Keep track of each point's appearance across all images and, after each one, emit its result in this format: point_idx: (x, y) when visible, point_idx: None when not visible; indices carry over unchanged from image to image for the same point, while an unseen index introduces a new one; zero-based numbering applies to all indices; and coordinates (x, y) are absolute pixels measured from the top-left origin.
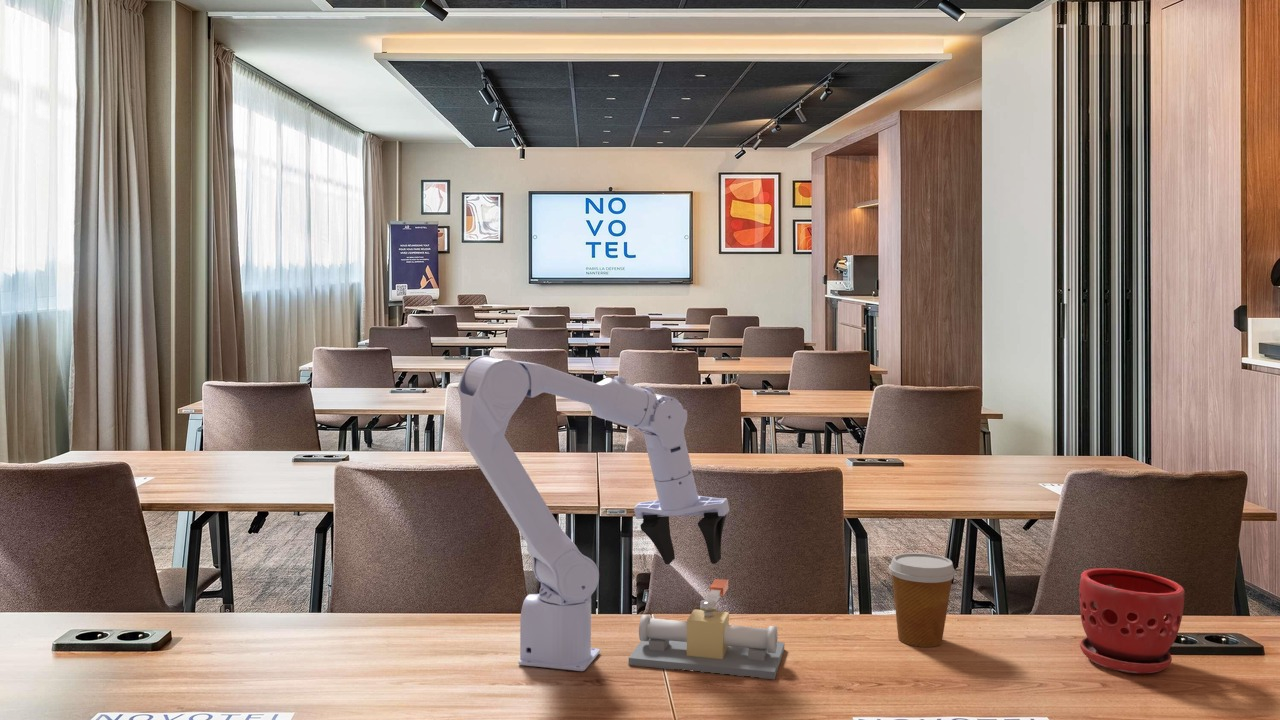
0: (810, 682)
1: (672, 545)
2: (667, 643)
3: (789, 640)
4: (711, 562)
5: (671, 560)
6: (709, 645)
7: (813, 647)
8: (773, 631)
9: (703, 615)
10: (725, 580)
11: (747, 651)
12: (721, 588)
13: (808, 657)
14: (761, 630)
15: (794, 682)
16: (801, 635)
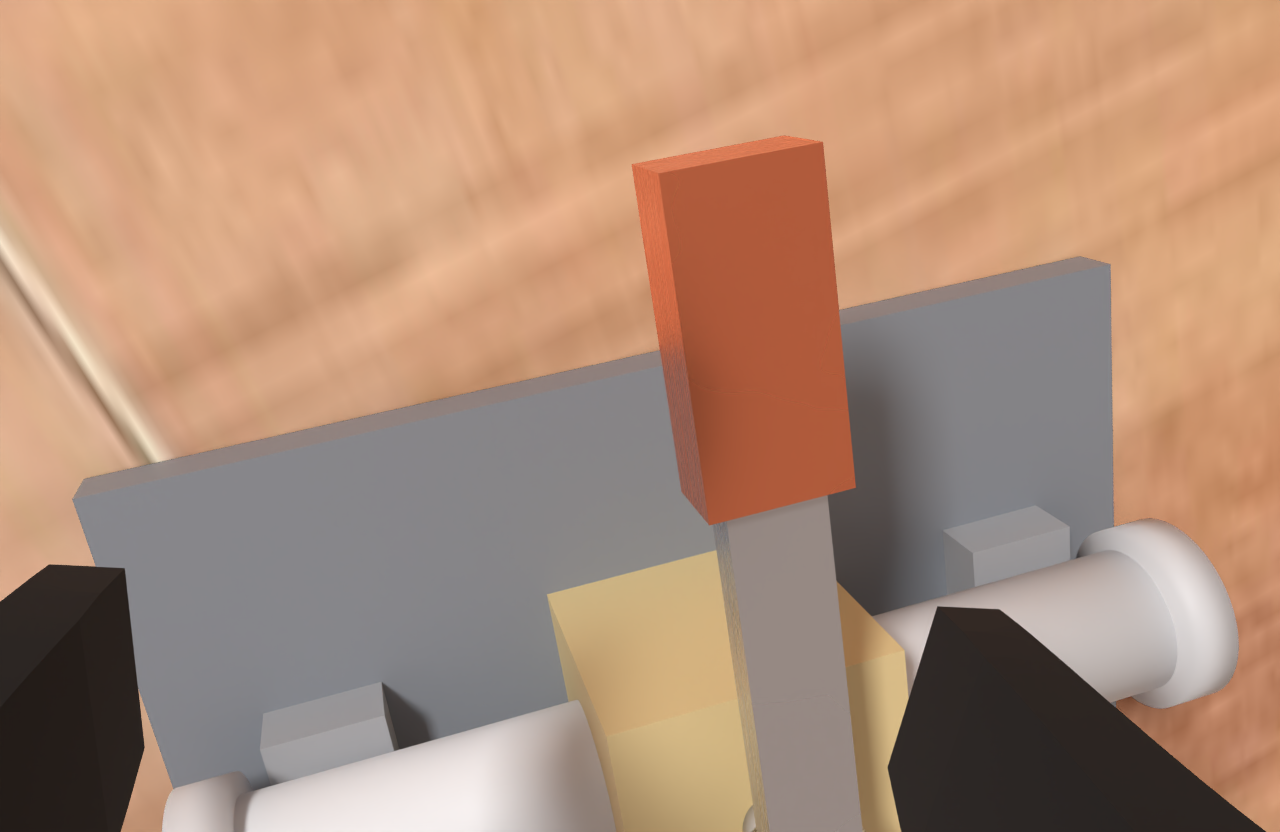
0: (1251, 668)
1: (17, 706)
2: (395, 738)
3: (1087, 50)
4: (896, 789)
5: (128, 683)
6: None
7: (1241, 124)
8: (1212, 687)
9: (736, 828)
10: (798, 180)
11: (921, 544)
12: (833, 490)
13: (1223, 323)
14: (1129, 685)
15: (1181, 709)
16: None
